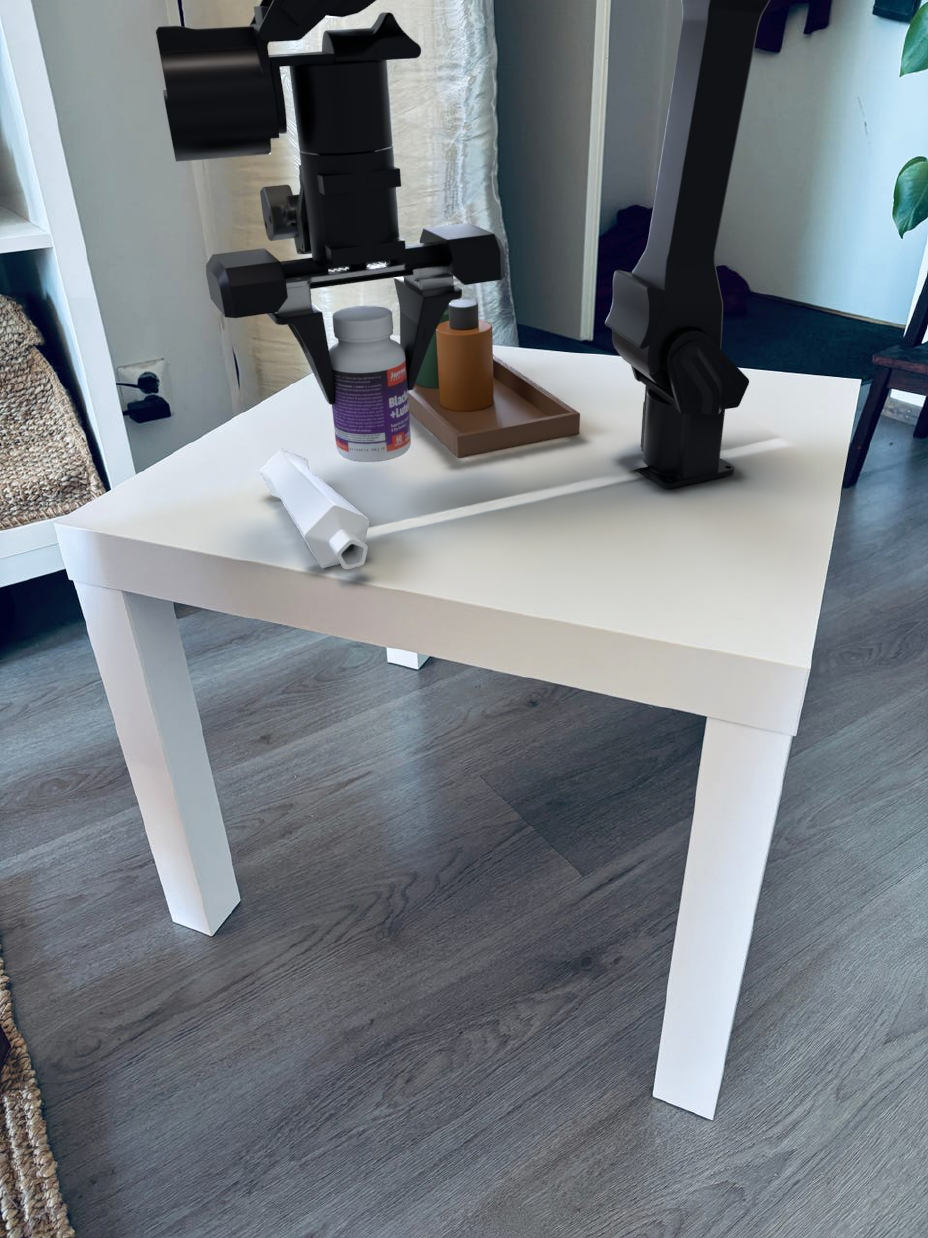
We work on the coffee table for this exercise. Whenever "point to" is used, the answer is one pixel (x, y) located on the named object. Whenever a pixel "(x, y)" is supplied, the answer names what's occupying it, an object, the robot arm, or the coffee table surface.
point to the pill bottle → (369, 386)
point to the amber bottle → (465, 359)
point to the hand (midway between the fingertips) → (370, 395)
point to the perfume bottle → (317, 511)
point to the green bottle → (431, 362)
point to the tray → (496, 416)
